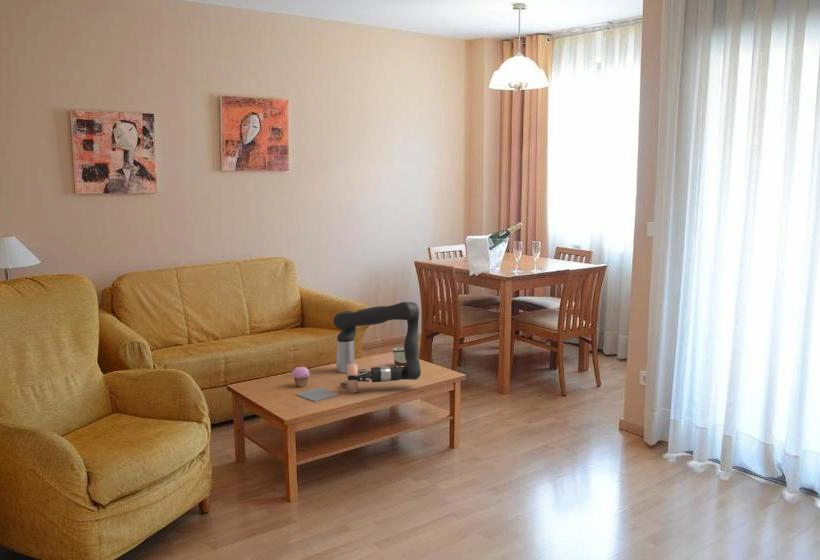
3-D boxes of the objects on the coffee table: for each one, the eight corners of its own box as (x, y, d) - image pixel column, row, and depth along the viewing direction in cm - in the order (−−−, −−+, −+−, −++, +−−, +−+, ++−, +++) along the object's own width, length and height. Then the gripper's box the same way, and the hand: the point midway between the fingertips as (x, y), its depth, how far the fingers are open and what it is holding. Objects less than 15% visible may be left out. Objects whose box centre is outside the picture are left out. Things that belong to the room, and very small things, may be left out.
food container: (414, 364, 416) (415, 347, 414) (413, 367, 410) (414, 349, 408) (393, 363, 417) (393, 346, 415) (392, 366, 411) (392, 349, 409)
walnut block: (340, 387, 374) (340, 382, 374) (347, 384, 378) (347, 380, 378) (347, 388, 371) (347, 384, 371) (354, 386, 375) (354, 382, 374)
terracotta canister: (345, 391, 366) (345, 364, 364) (353, 389, 369) (352, 362, 367) (352, 393, 362) (352, 366, 360) (360, 391, 366) (359, 364, 364)
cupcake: (289, 385, 375) (288, 366, 373) (302, 382, 381) (302, 363, 380) (299, 389, 369) (299, 370, 367) (313, 385, 375) (313, 366, 373)
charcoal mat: (296, 395, 360) (296, 394, 360) (319, 388, 370) (319, 387, 370) (315, 402, 349) (315, 400, 349) (339, 395, 360) (339, 393, 360)
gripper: (378, 363, 374) (345, 365, 370) (383, 371, 360) (348, 373, 356) (378, 377, 375) (345, 379, 372) (383, 385, 361) (348, 387, 358)
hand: (347, 376), depth 364 cm, fingers closed on terracotta canister, 5 cm apart
